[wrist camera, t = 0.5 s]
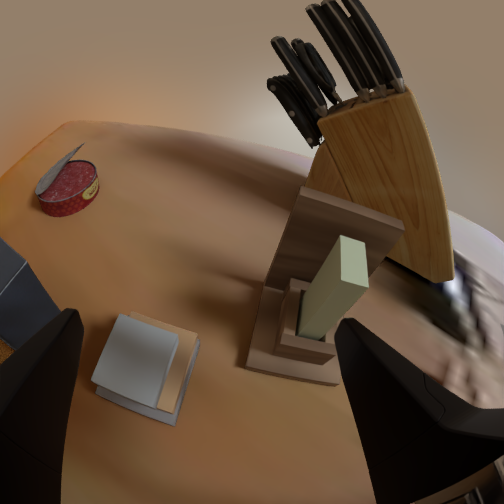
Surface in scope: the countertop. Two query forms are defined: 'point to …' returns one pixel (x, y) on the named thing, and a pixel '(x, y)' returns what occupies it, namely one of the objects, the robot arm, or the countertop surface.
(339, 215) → the walnut rack
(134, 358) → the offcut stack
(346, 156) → the knife block
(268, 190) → the countertop surface
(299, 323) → the green board
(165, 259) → the countertop surface
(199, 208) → the countertop surface
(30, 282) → the small box
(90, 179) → the canned food
